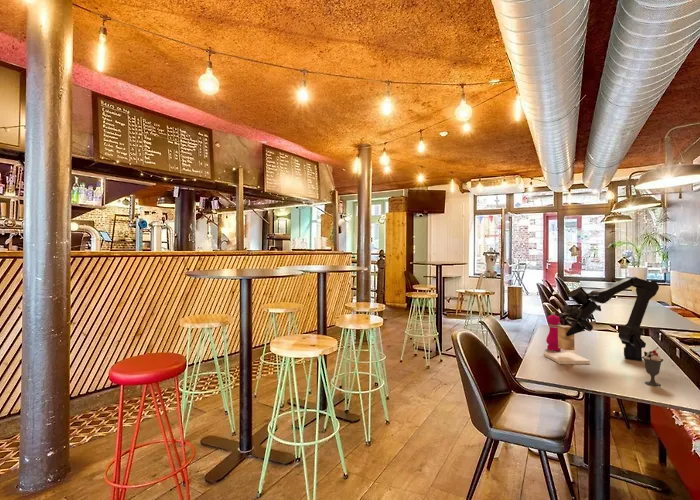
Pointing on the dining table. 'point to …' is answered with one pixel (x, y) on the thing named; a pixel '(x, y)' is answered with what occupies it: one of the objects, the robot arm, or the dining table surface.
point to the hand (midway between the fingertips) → (563, 334)
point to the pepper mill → (553, 332)
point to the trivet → (567, 358)
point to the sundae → (652, 366)
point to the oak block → (565, 338)
